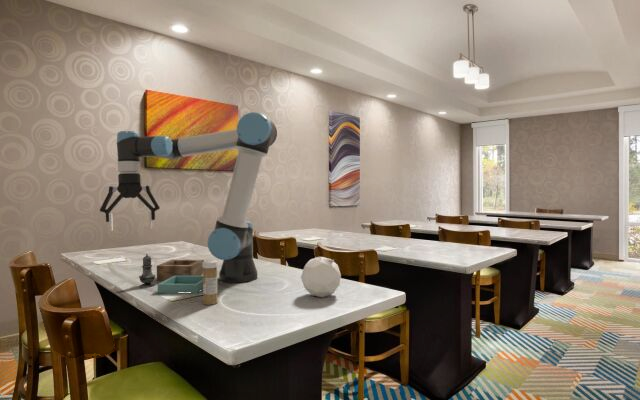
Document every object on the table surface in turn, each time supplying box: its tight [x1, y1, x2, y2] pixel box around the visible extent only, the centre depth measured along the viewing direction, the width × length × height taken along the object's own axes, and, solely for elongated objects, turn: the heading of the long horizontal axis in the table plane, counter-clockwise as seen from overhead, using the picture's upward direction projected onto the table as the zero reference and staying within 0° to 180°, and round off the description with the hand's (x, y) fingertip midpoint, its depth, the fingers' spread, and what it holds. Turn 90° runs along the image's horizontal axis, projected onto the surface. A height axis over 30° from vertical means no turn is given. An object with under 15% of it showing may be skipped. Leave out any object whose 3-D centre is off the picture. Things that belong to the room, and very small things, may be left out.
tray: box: [157, 275, 203, 294], centre depth 148 cm, size 14×14×3 cm
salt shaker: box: [138, 253, 157, 288], centre depth 152 cm, size 6×6×12 cm
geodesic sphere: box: [300, 256, 342, 298], centre depth 137 cm, size 14×14×14 cm
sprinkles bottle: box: [202, 259, 219, 306], centre depth 128 cm, size 5×5×13 cm
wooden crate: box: [156, 259, 205, 282], centre depth 166 cm, size 14×14×6 cm
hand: (131, 229), depth 152 cm, fingers open, 13 cm apart
